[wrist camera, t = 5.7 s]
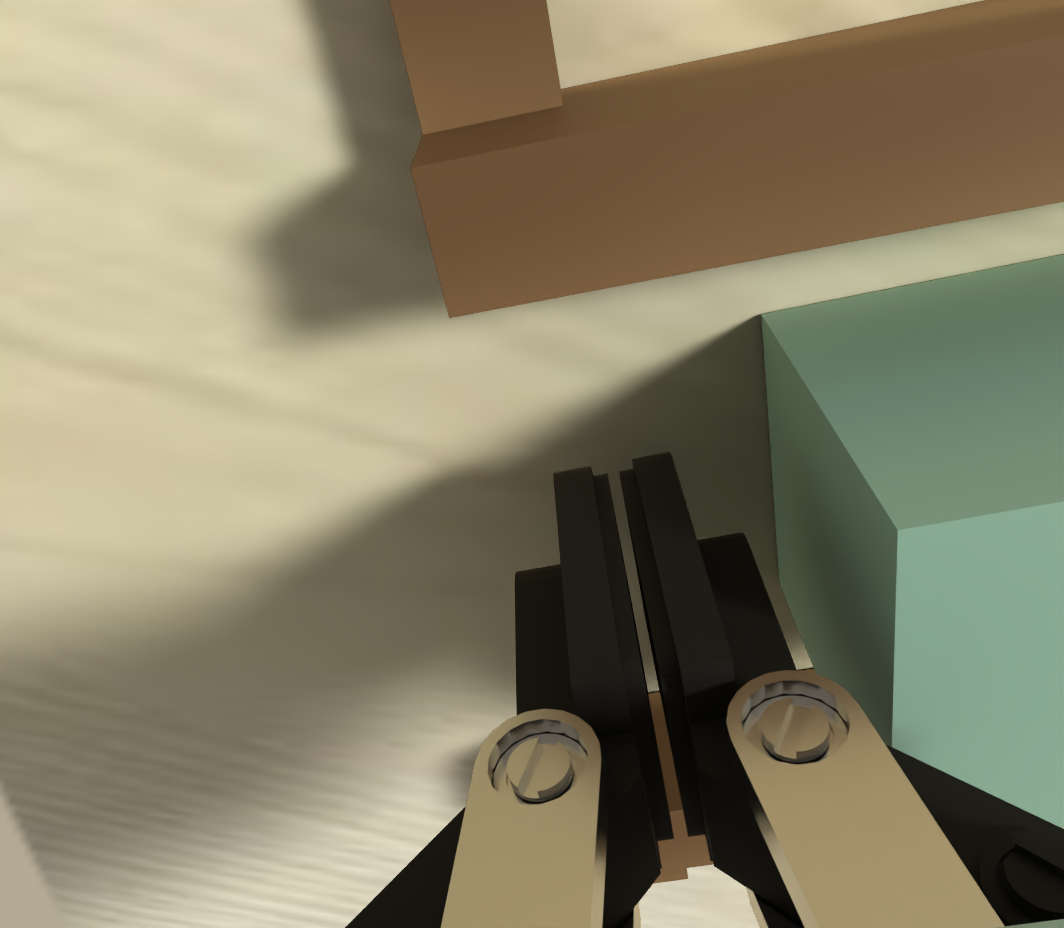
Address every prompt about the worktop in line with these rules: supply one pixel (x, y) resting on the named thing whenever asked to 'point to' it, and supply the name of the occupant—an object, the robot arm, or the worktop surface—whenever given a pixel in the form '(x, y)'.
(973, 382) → the block
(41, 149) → the worktop surface
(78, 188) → the worktop surface
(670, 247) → the wooden brackets
